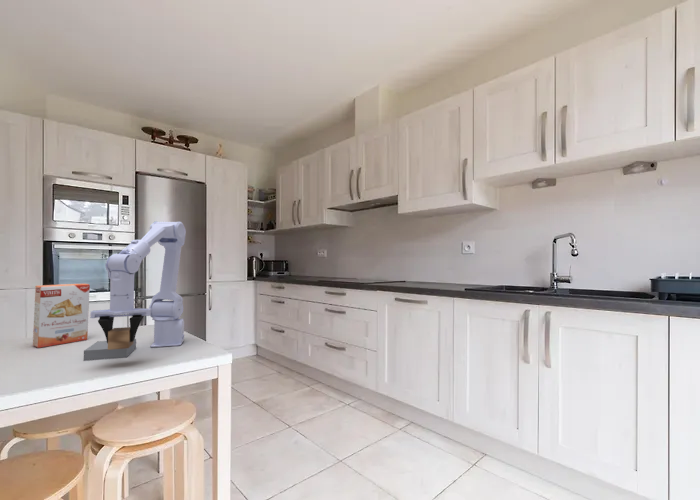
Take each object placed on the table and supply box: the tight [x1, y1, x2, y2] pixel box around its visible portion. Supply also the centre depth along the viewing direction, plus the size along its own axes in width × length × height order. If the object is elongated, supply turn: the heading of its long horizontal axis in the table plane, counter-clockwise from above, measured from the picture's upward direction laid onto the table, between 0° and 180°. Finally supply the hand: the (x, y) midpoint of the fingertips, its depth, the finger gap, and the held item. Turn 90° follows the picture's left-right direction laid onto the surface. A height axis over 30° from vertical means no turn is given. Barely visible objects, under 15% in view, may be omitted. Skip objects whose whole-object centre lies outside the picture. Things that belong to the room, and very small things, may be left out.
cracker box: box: [32, 283, 91, 349], centre depth 117 cm, size 14×6×21 cm, turn 148°
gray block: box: [83, 338, 137, 362], centre depth 105 cm, size 11×11×4 cm
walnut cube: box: [108, 326, 134, 350], centre depth 95 cm, size 5×5×5 cm
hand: (121, 341), depth 95 cm, fingers closed on walnut cube, 5 cm apart
